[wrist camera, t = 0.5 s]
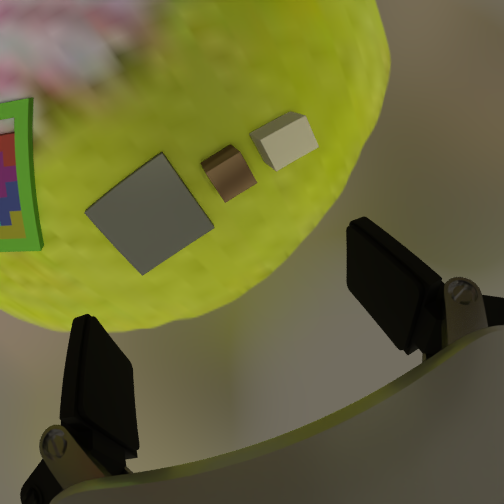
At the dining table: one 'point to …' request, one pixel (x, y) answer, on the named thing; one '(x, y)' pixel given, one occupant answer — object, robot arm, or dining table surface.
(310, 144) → the cream brick
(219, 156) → the walnut cube
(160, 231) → the base plate
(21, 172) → the jigsaw puzzle tray
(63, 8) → the dining table surface
